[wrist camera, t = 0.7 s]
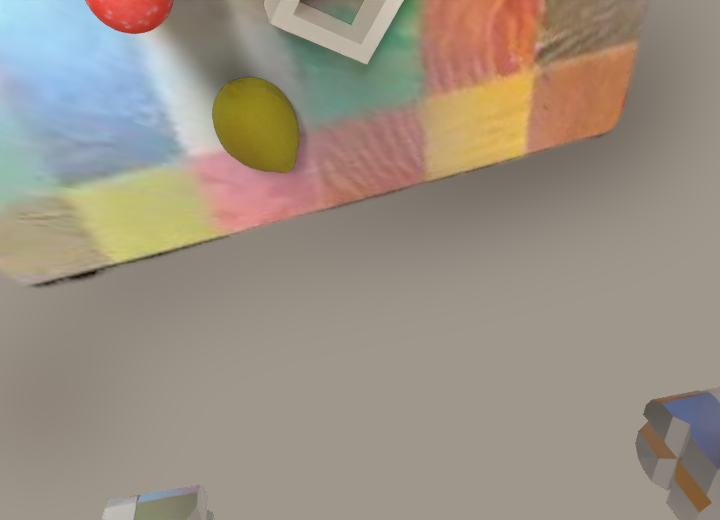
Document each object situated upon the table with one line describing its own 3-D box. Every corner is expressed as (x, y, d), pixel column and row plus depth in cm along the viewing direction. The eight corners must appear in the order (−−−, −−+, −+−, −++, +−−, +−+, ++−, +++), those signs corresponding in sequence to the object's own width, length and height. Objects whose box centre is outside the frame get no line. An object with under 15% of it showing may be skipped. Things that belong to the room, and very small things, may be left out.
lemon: (193, 72, 55) (198, 119, 50) (269, 44, 55) (283, 89, 50) (237, 156, 64) (245, 204, 58) (303, 132, 64) (318, 178, 58)
